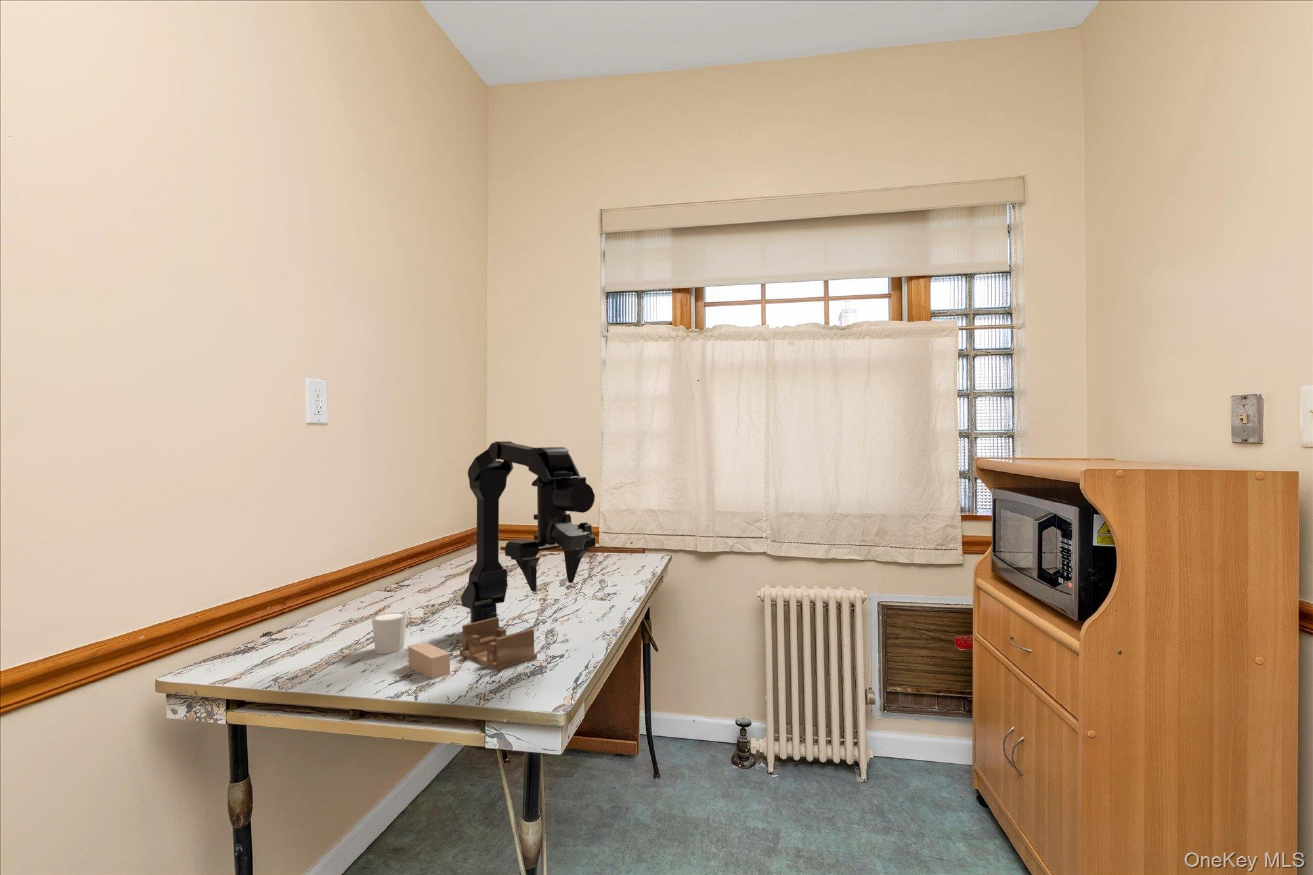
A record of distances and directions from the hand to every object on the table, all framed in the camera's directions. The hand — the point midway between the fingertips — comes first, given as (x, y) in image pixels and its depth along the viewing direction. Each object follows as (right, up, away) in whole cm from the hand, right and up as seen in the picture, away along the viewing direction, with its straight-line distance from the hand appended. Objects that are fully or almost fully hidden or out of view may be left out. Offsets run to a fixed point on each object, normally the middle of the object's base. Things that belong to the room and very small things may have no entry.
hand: (552, 587), depth 120 cm
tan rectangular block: (-23, -15, -5) cm, 28 cm away
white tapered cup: (-36, -15, +8) cm, 40 cm away
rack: (-12, -15, +2) cm, 19 cm away
